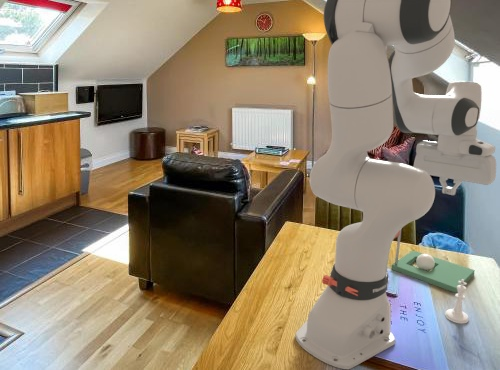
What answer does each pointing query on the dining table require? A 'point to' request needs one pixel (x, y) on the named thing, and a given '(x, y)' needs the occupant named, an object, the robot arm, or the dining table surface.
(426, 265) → the ball
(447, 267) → the putting mat
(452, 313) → the chess piece
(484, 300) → the dining table surface
